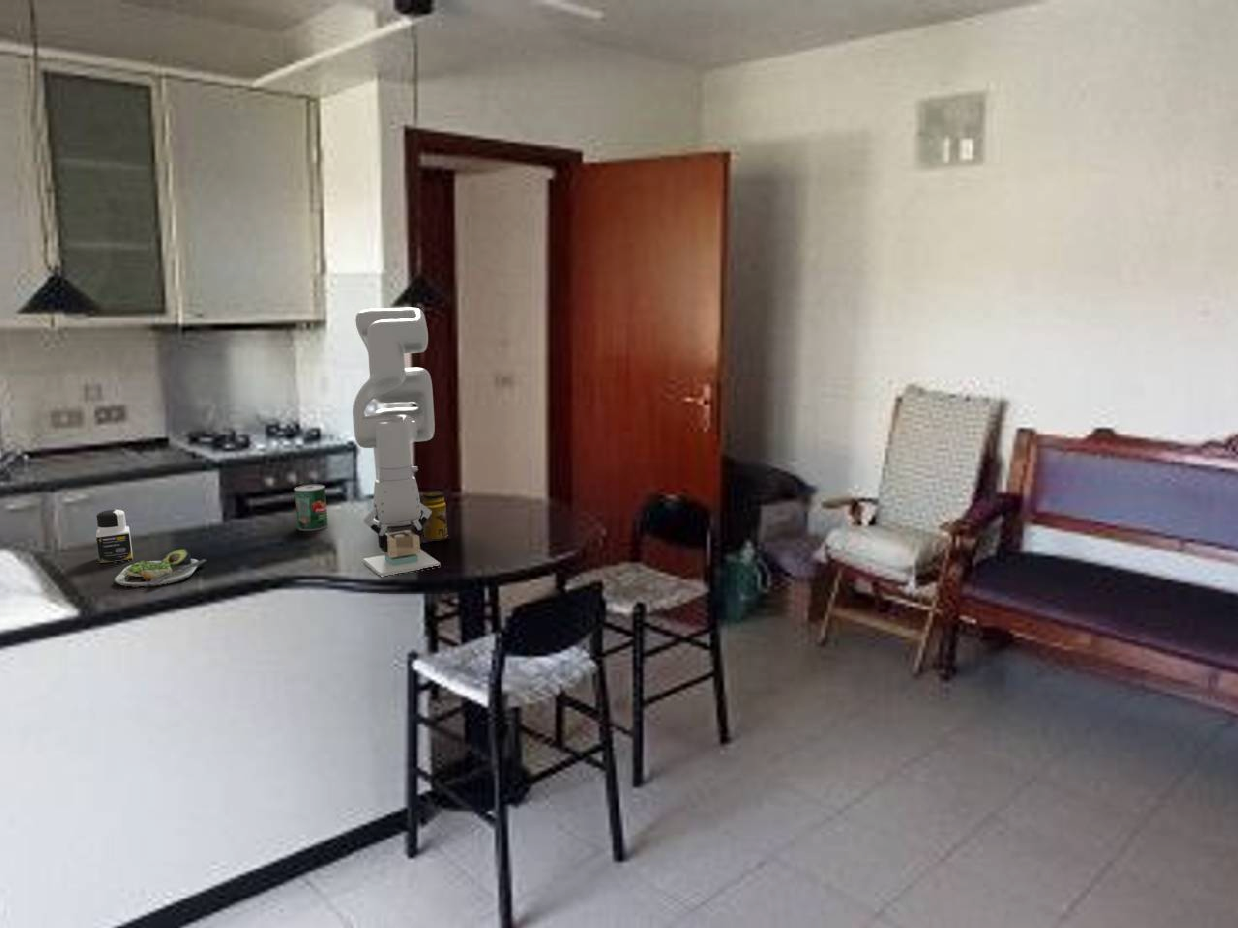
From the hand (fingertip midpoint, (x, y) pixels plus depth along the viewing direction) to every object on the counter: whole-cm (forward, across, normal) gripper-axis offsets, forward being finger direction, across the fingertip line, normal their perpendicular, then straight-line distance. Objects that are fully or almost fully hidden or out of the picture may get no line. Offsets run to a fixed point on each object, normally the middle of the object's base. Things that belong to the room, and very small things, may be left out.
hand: (400, 547), depth 219 cm
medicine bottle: (+4, +57, -46) cm, 73 cm away
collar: (+1, 0, 0) cm, 1 cm away
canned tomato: (+5, +9, -49) cm, 50 cm away
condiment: (+5, -14, -18) cm, 23 cm away
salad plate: (+5, +49, -25) cm, 55 cm away
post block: (+4, 0, 0) cm, 4 cm away
